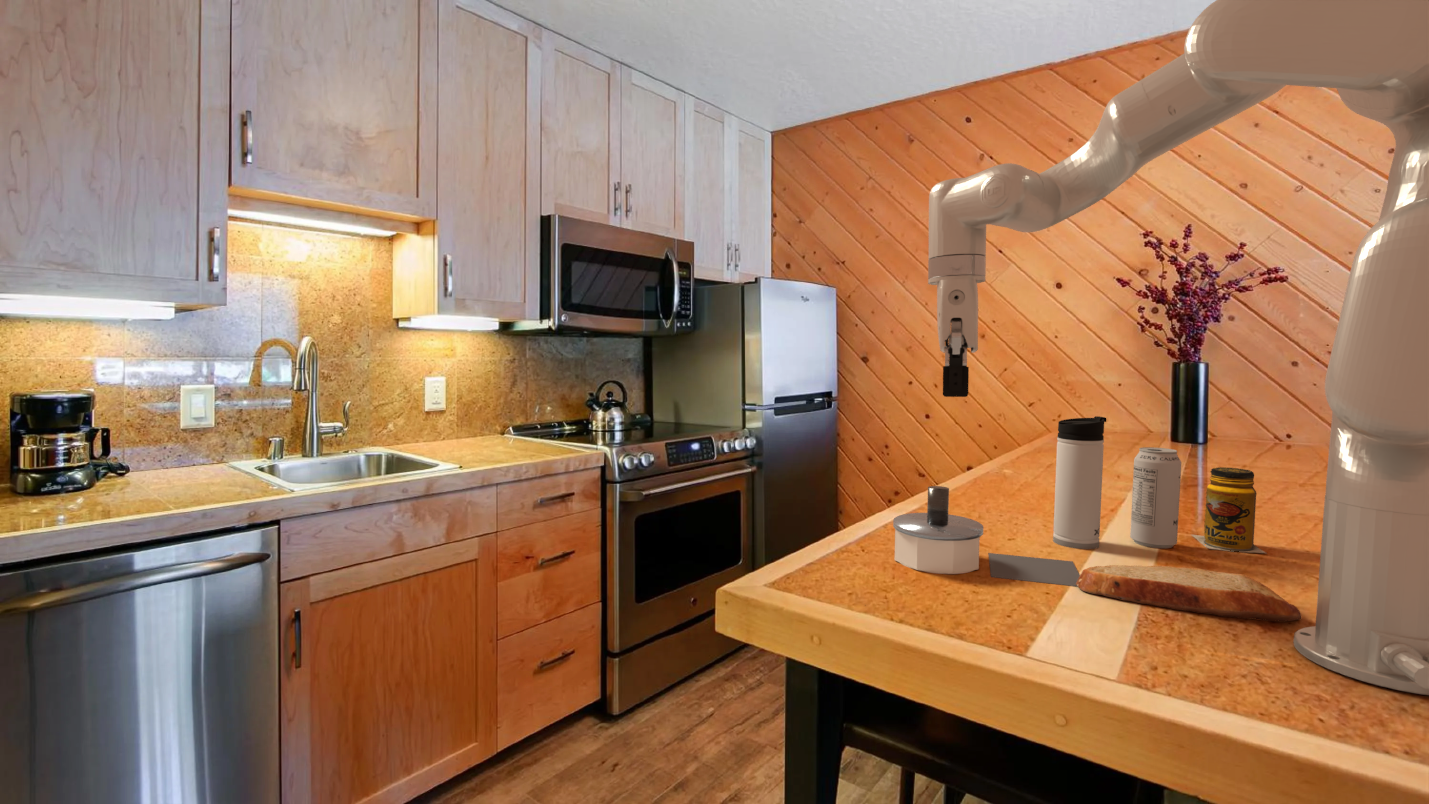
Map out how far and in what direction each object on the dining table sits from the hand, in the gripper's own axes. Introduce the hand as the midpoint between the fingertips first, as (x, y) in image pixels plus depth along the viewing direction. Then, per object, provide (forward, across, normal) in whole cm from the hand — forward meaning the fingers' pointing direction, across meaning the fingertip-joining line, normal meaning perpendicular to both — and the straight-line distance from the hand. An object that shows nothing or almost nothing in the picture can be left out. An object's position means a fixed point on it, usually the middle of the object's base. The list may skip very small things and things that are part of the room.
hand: (954, 394), depth 93 cm
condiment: (+25, +23, -40) cm, 53 cm away
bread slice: (+24, -8, -26) cm, 36 cm away
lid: (+19, -2, +2) cm, 19 cm away
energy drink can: (+24, +18, -29) cm, 42 cm away
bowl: (+24, -2, +2) cm, 24 cm away
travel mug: (+24, +15, -18) cm, 34 cm away
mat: (+24, -1, -10) cm, 26 cm away
